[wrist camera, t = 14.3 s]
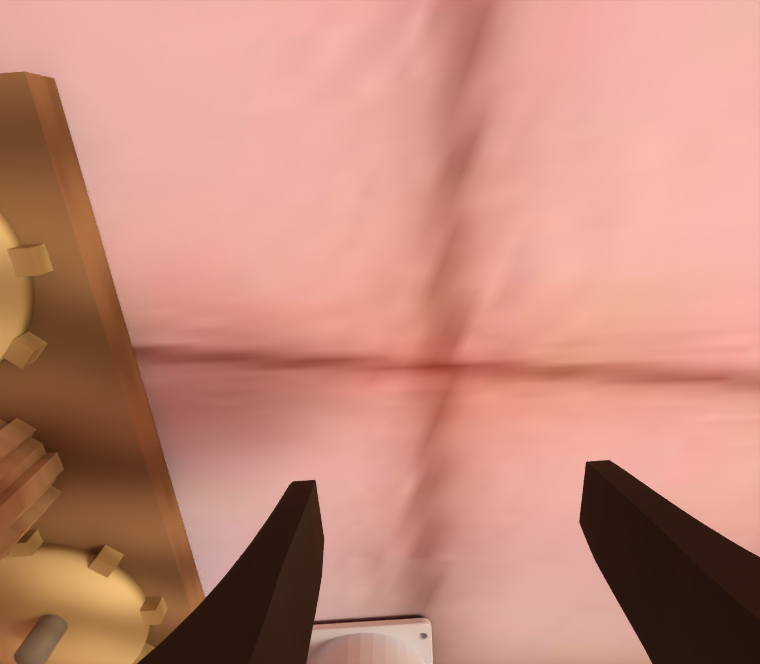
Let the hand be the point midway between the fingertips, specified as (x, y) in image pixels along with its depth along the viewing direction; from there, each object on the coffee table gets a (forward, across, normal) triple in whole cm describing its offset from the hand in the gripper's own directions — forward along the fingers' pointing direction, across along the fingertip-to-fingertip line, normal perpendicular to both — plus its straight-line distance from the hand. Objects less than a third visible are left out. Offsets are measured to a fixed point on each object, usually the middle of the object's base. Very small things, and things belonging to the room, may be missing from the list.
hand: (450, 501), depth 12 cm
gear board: (+9, +19, +3) cm, 21 cm away
